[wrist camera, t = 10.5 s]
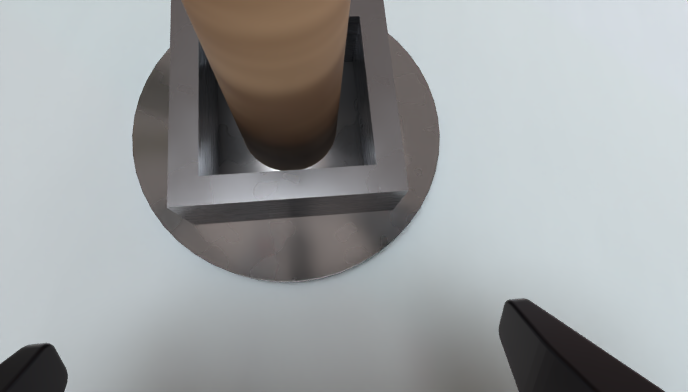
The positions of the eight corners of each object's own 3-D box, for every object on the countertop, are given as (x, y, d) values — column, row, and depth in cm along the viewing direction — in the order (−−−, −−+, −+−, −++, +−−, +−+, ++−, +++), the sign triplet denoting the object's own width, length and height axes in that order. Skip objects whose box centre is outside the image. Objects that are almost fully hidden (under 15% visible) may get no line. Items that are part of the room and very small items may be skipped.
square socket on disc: (453, 268, 17) (492, 258, 13) (136, 295, 16) (80, 293, 12) (413, 8, 21) (435, -60, 17) (147, 17, 20) (105, -54, 16)
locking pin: (353, 144, 17) (445, -267, 5) (269, 187, 17) (125, -163, 4) (308, 70, 18) (287, -447, 6) (226, 109, 17) (-7, -386, 5)
